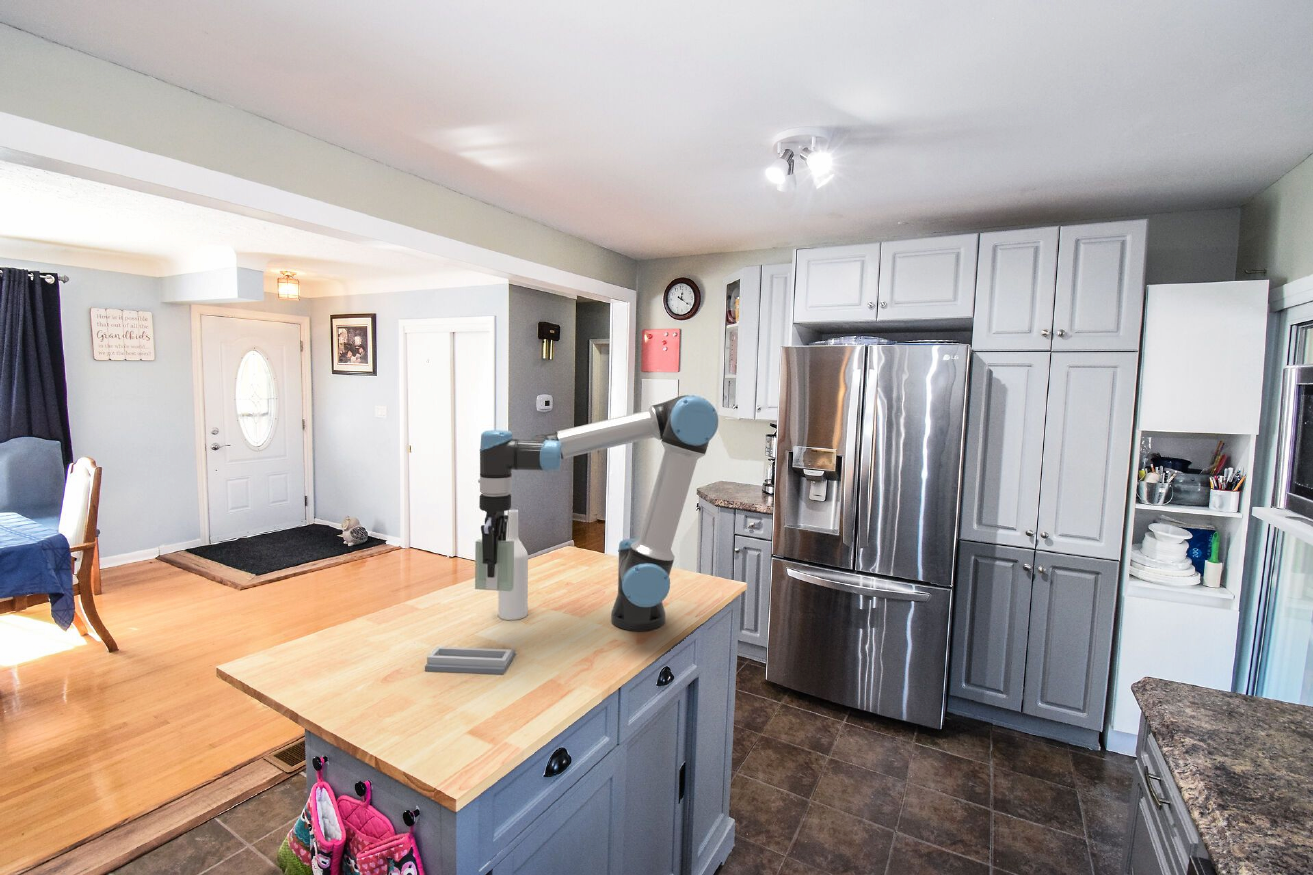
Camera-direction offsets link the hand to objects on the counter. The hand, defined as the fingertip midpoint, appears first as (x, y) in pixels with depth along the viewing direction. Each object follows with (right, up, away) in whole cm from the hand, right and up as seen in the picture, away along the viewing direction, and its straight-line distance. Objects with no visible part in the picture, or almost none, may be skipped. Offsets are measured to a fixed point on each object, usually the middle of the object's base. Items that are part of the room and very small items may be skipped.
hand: (494, 586), depth 149 cm
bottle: (0, -13, +21) cm, 25 cm away
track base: (-3, -16, -8) cm, 18 cm away
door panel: (0, -1, 0) cm, 1 cm away
